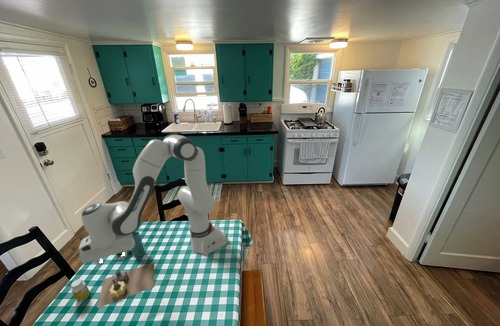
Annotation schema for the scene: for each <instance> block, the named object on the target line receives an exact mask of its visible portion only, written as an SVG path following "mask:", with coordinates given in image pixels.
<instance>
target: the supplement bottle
mask: <svg viewBox="0 0 500 326" xmlns="http://www.w3.org/2000/svg"><path fill="white" fill-rule="evenodd" d="M70 287H71V289H70V290H71V292H72V295H73V297H74V298H75V300H76V302H83V301H84V300H86V299H87V298H89V296H90V294H91V292H90V289H89V287H88V285H87V283H86V282H85V281H83V280H82V278H78V279H76V280H74V281H72V283H71V284H70Z"/></svg>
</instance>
